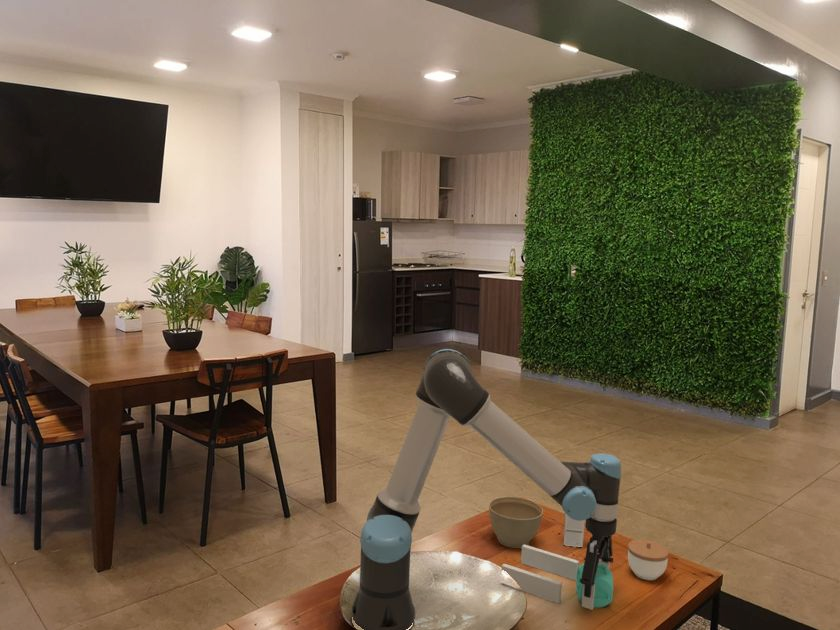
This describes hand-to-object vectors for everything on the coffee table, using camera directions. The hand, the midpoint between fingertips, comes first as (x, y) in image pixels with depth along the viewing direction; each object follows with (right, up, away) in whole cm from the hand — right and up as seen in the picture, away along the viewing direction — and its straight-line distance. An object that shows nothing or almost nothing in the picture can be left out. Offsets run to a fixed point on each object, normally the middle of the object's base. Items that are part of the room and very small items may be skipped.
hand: (595, 596), depth 167 cm
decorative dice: (0, -1, 0) cm, 1 cm away
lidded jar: (+18, 0, +14) cm, 23 cm away
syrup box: (+1, +3, +31) cm, 31 cm away
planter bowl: (-17, +3, +30) cm, 34 cm away
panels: (-13, +1, +8) cm, 15 cm away
